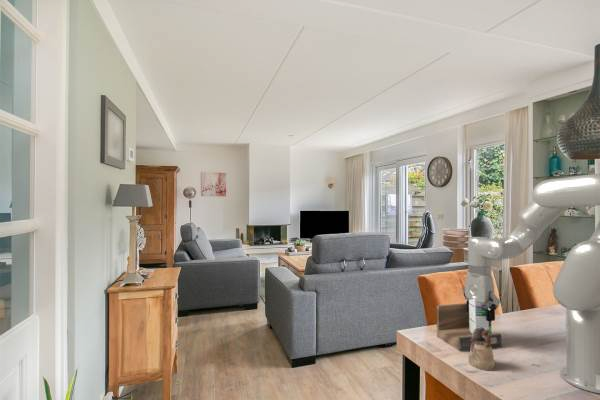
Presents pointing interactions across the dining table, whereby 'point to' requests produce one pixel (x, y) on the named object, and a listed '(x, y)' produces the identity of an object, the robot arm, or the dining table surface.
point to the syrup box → (478, 315)
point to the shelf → (458, 327)
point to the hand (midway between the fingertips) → (480, 315)
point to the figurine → (481, 350)
